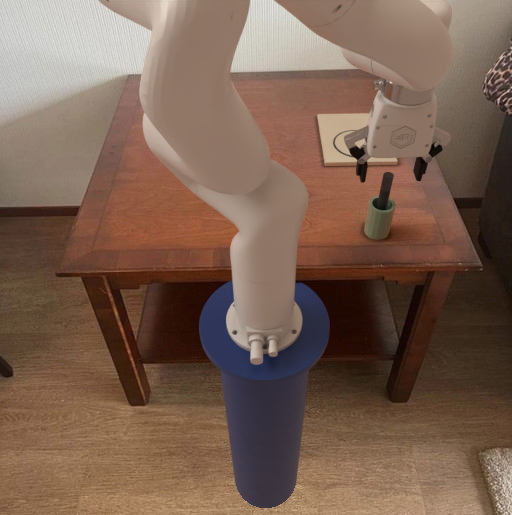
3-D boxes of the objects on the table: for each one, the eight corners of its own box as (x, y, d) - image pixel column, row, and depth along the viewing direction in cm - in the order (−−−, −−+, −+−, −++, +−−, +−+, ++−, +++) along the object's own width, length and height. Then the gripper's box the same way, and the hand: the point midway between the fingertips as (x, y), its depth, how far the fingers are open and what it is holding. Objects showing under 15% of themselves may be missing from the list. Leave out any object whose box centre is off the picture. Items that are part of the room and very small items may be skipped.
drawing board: (397, 165, 112) (398, 160, 112) (324, 166, 113) (325, 161, 112) (381, 116, 126) (382, 112, 125) (317, 117, 126) (317, 113, 126)
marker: (382, 232, 97) (394, 177, 88) (373, 232, 97) (384, 178, 88) (380, 225, 98) (392, 171, 89) (371, 225, 98) (382, 171, 89)
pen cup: (391, 239, 97) (398, 212, 91) (365, 240, 97) (371, 212, 92) (386, 222, 100) (393, 195, 95) (362, 222, 100) (367, 195, 95)
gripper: (353, 101, 74) (342, 192, 87) (472, 98, 74) (444, 189, 86) (347, 76, 79) (337, 165, 92) (458, 73, 79) (433, 162, 91)
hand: (389, 177), depth 89 cm, fingers open, 9 cm apart
